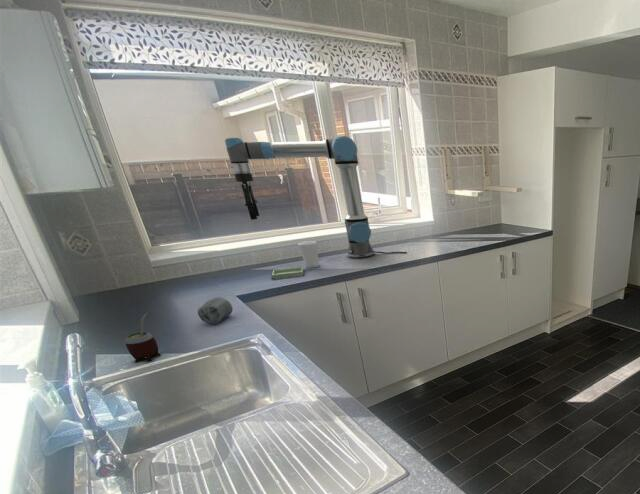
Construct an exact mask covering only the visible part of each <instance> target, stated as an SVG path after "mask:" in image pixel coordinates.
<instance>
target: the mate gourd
mask: <svg viewBox="0 0 640 494" xmlns="http://www.w3.org/2000/svg"><path fill="white" fill-rule="evenodd" d="M149 313H150V312H149V311H148V312H146V313H145V314H144V315H143V316H142V317H141V319H140V322H139V323H140V331H139V332H135V333H132V334H129V335H127V337H126V338H125V341H124V342H125V346H126V349H127V351H128V353H129V354H130V356H131V357H132V358H133V359H134V362H135V363H139V362H142V361H145V360H147V362H152V359H153V358H156V357H160V356H161V353H159V345H158V343H157V339H155V337H154V336H153V335H152V334H151V333H150V332H147V331H144V324H145V323H144V322H145V318H146V317H147V316H148V315H149ZM145 357H146V358H145Z"/></svg>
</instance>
